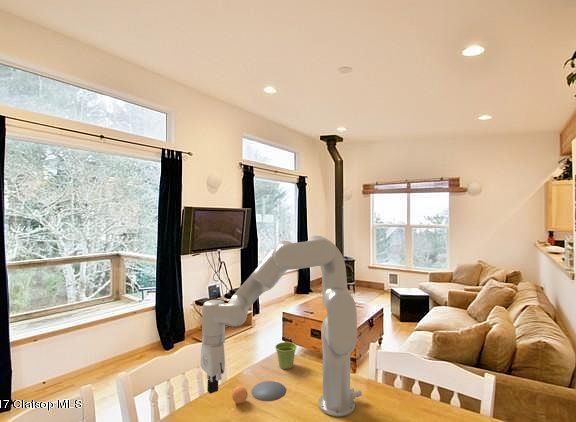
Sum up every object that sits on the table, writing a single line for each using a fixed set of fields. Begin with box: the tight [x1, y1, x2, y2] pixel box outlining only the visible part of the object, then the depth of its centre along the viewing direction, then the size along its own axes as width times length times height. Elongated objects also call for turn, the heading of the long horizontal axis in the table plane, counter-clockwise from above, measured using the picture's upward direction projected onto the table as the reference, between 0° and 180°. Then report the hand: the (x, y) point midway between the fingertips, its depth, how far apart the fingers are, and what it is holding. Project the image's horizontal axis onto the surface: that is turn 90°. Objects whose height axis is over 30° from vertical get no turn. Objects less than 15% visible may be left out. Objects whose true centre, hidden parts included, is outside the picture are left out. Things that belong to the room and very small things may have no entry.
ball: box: [231, 385, 249, 404], centre depth 119 cm, size 6×6×6 cm
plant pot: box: [274, 341, 297, 370], centre depth 146 cm, size 9×9×9 cm
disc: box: [251, 380, 287, 402], centre depth 127 cm, size 13×13×1 cm
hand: (212, 391), depth 113 cm, fingers closed
